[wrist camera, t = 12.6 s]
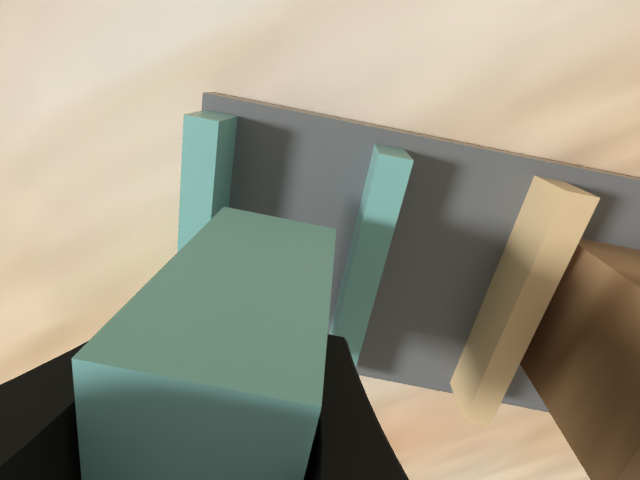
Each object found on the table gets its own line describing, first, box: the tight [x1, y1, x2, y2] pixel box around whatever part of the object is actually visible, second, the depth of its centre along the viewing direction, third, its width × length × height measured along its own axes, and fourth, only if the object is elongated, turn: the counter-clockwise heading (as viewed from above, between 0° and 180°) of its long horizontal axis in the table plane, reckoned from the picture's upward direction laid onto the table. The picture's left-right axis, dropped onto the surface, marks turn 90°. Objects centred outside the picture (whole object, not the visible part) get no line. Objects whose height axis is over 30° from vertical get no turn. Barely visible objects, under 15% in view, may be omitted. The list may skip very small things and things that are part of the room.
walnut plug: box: [520, 238, 640, 480], centre depth 12 cm, size 5×3×6 cm, turn 170°
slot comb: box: [178, 92, 640, 427], centre depth 14 cm, size 10×18×3 cm, turn 80°
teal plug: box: [71, 207, 336, 480], centre depth 8 cm, size 5×3×6 cm, turn 170°
